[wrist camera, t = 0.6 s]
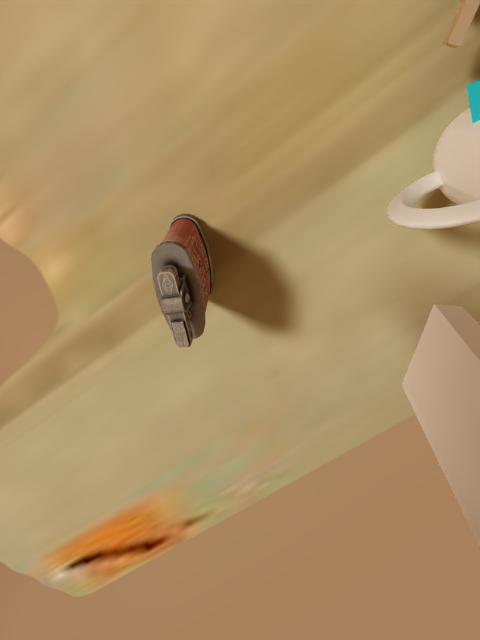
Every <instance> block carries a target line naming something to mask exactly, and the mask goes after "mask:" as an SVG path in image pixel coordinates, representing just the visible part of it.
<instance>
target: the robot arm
mask: <svg viewBox="0 0 480 640" xmlns="http://www.w3.org/2000/svg"><path fill="white" fill-rule="evenodd" d="M402 387H403V389H404V391H405V393H406V395H407V397H408V399H409V401H410V404H411V406H412V408H413V410H414V412H415V414H416V416H417V418H418V420H419V422H420V424H421V426H422V429H423V431H424V433H425V435H426V437H427V439H428V441H429V443H430V445H431V447H432V449H433V451H434V453H435V456H436V458H437V460H438V462H439V464H440V466H441V468H442V470H443V472H444V474H445V476H446V479H447V481H448V482H449V485H450V487H451V489H452V491H453V493H454V495H455V497H456V499H457V502H458V504H459V505H460V508H461V510H462V512H463V514H464V516H465V518H466V520H467V522H468V524H469V527H470V529H471V530H472V533H473V535H474V537H475V539H476V541H477V543H478V545H479V547H480V325H479V324H478V323H477V321H476V320H475V319H474V318H473V317H472V316H471V315H470V314H469V313H468V312H467V311H466V310H465V308H464V307H460V306H450V305H440V304H434V305H433V308H432V310H431V313H430V315H429V318H428V320H427V323H426V325H425V328H424V330H423V333H422V335H421V338H420V340H419V343H418V345H417V348H416V350H415V353H414V355H413V358H412V360H411V363H410V365H409V368H408V370H407V373H406V375H405V378H404V380H403V383H402Z"/></svg>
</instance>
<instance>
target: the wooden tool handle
mask: <svg viewBox="0 0 480 640" xmlns="http://www.w3.org/2000/svg"><path fill="white" fill-rule="evenodd" d="M479 4H480V0H461V2H460V4H459V6H458V9H457V11H456V13H455V16H454V18H453V20H452V23H451V25H450V28H449V30H448V32H447V35H446V37H445V39H444V42H443V44H444V45H447V46H450V47H453V48H457V47H461V44H462V42H463V40H464V38H465V35H466V33H467V31H468V29H469V26H470V24H471V22H472V20H473V18H474V15H475V13H476V11H477V9H478V6H479Z"/></svg>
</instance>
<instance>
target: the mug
mask: <svg viewBox="0 0 480 640" xmlns="http://www.w3.org/2000/svg"><path fill="white" fill-rule="evenodd" d="M467 89H468V96H469V103H470V107H469V108H468V109H466V110H465V111H464V112H462V113H461V114H459V115H458V116H457V117H456V118H455V119H454V120H453V121H452V122H451V123H450V124H449V125H448V126H447V128H446V129H445V130H444V132H443V133H442V135H441V137H440V138H439V141H438V143H437V145H436V148H435V152H434V156H433V172H432V173H430V174H428V175H426V176H423V177H422V178H420V179H418V180H416V181H415V182H413V183H411V184H410V185H408V186H407V187H406V188H404V189H403V190H402V191H400V192H399V193H398V194H397V195H396V196H395V197H394V198H393V199H392V201H391V202H390V203H389V205H388V208H387V211H386V214H387V216H388V218H389V220H390V221H391V222H393V223H395V224H396V225H398V226H401V227H406V228H411V229H432V230H433V229H443V228H452V227H458V226H463V225H468V224H472V223H477V222H480V79H479V80H477V81H474V82H472V83H470V84H468V85H467ZM438 188H439V189H440V190H441V192H442V193H443V194H444V195H445V196H446V197H447V198H448V199H449V200H451V201H453V202H454V203H456V204H458V205H456V206H450V207H443V208H434V209H420V208H415V204H416V203H417V202H418V201H419V200H420V199H421V198H422V197H424V196H425V195H427V194H428V193H430V192H432V191H434V190H436V189H438Z"/></svg>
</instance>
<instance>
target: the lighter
mask: <svg viewBox="0 0 480 640" xmlns="http://www.w3.org/2000/svg"><path fill="white" fill-rule="evenodd" d="M151 261H152V273H153V281H154V285H155V290H156V295H157V299H158V301H159V304H160V307H161V310H162V312H163V315H164V317H165V319H166V321H167V323H168V325H169V327H170V328H171V330H172V332H173V336H174V339H175V343H176V345H177V346H178V347H180V348H187V347H190V346H191V344H192V340H193V339H196V338H198V337H199V336H201V335H202V333H203V331H204V327H205V311H206V307H207V303H208V298H209V297H210V295H211V294H212V290H213V265H212V257H211V252H210V249H209V245H208V242H207V238H206V236H205V233H204V231H203V228H202V226H201V224H200V222H199V220H198V219H197V218H196V217H195V216H194V215H191V214H180V215H178V216H176V217H175V218H174V219H173V221H172V222H171V224H170V227H169V232H168V233H167V235H166V237H165V238H164V240H163V242H161V243H160V244H159V245H157V247H156V248H155V250H154V251H153V253H152V258H151Z"/></svg>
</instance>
